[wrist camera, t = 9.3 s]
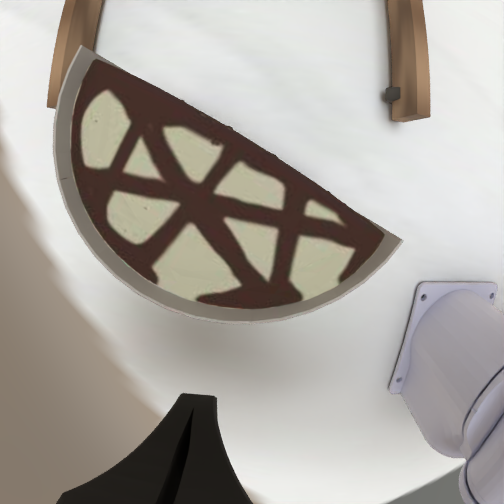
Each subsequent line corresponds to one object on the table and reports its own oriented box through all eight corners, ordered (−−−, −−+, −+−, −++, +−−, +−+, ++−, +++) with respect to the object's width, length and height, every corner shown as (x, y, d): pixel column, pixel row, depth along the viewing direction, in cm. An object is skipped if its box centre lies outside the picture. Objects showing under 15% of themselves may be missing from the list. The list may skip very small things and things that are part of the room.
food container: (108, 182, 18) (-4, 209, 8) (157, 94, 16) (69, 40, 7) (277, 287, 20) (296, 396, 10) (335, 203, 18) (415, 250, 9)
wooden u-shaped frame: (407, 124, 17) (438, 119, 13) (73, 114, 16) (40, 108, 13) (396, -28, 13) (417, -52, 10) (100, -33, 13) (78, -57, 10)
